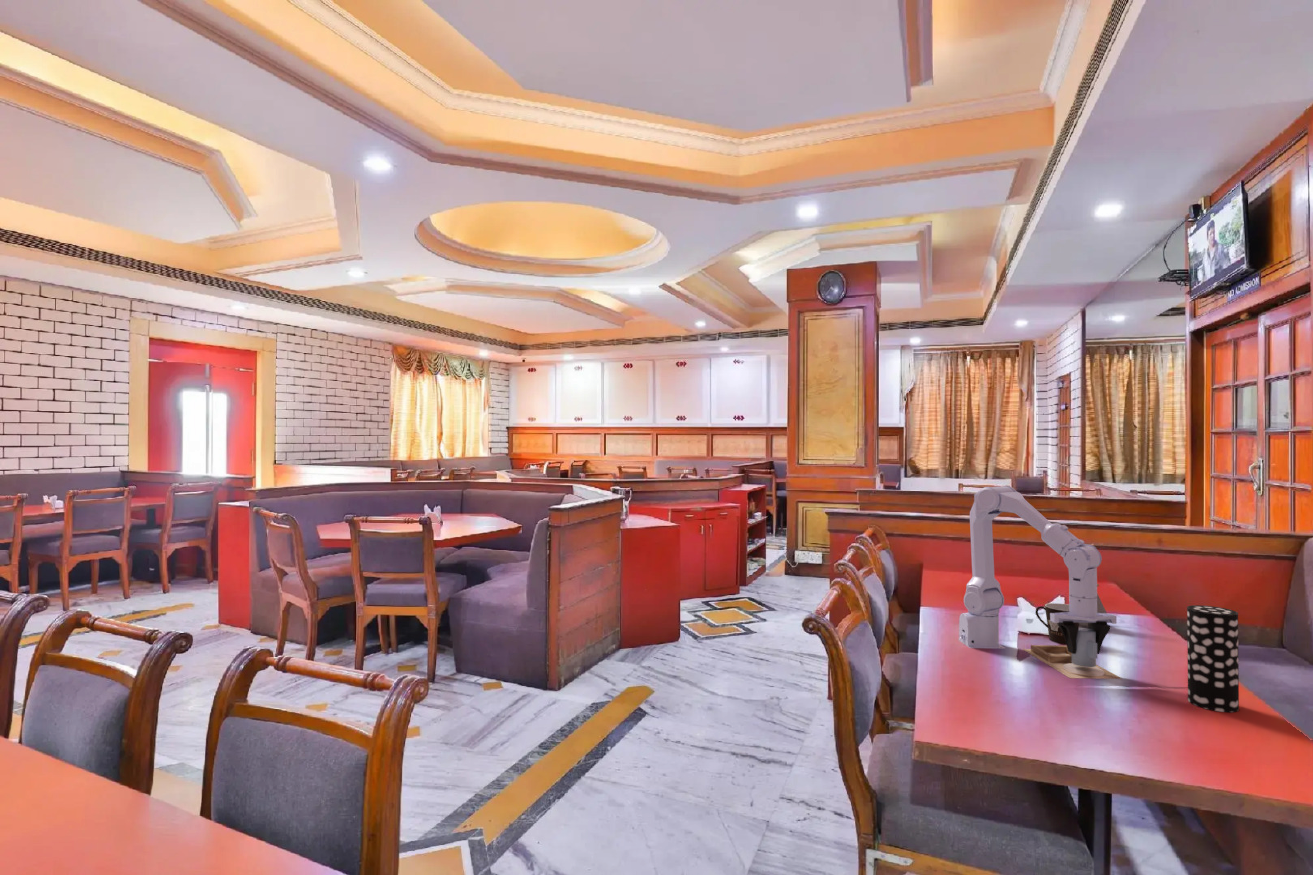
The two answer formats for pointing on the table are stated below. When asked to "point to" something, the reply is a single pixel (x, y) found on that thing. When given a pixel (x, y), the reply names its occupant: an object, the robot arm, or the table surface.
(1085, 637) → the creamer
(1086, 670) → the jug board
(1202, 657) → the white-spotted black cylinder
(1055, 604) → the coffee mug
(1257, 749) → the table surface
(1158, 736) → the table surface
